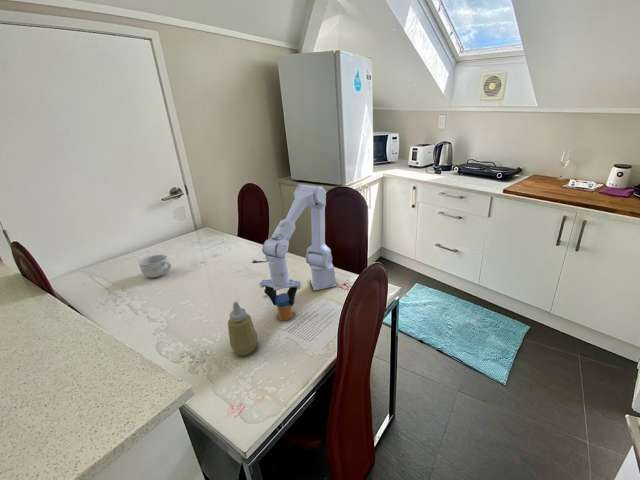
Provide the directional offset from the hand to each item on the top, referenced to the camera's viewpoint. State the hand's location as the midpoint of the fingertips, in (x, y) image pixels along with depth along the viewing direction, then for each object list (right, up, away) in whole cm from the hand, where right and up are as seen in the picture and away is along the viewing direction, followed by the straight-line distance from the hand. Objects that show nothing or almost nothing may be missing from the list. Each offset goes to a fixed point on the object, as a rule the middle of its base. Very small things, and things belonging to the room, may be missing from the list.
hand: (283, 304), depth 113 cm
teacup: (-66, +6, +31) cm, 73 cm away
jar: (0, -5, +2) cm, 6 cm away
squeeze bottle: (-8, -12, -13) cm, 19 cm away
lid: (0, +2, -1) cm, 2 cm away
